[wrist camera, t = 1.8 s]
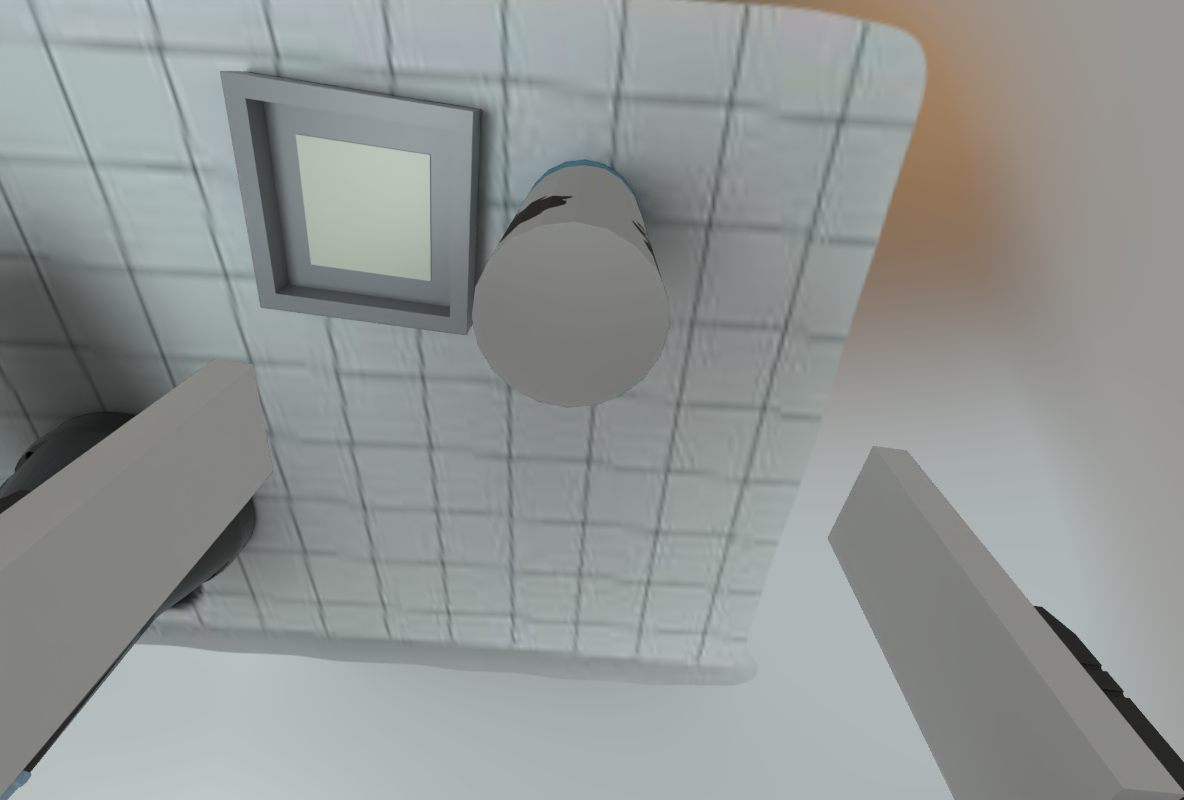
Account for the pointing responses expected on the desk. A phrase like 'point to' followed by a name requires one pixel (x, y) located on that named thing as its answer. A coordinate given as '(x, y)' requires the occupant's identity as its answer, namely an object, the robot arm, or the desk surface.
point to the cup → (573, 291)
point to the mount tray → (357, 200)
